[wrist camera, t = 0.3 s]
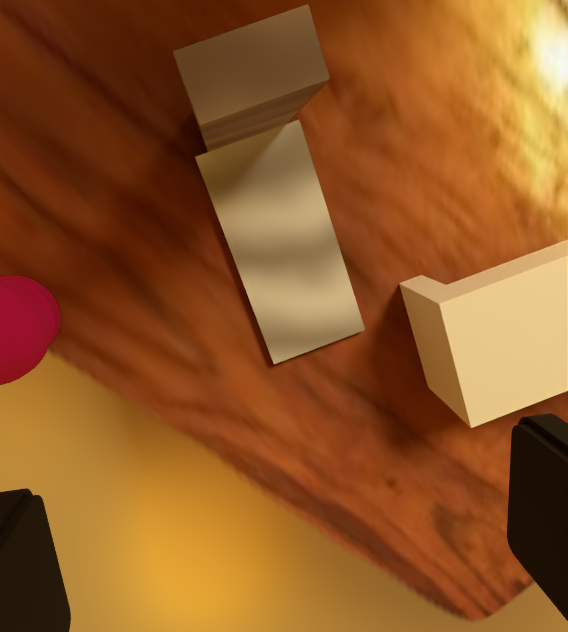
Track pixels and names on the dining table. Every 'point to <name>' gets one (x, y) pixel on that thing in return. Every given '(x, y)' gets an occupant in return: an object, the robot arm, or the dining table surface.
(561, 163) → the dining table surface
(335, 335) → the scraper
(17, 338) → the pepper mill
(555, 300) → the cream footstool
